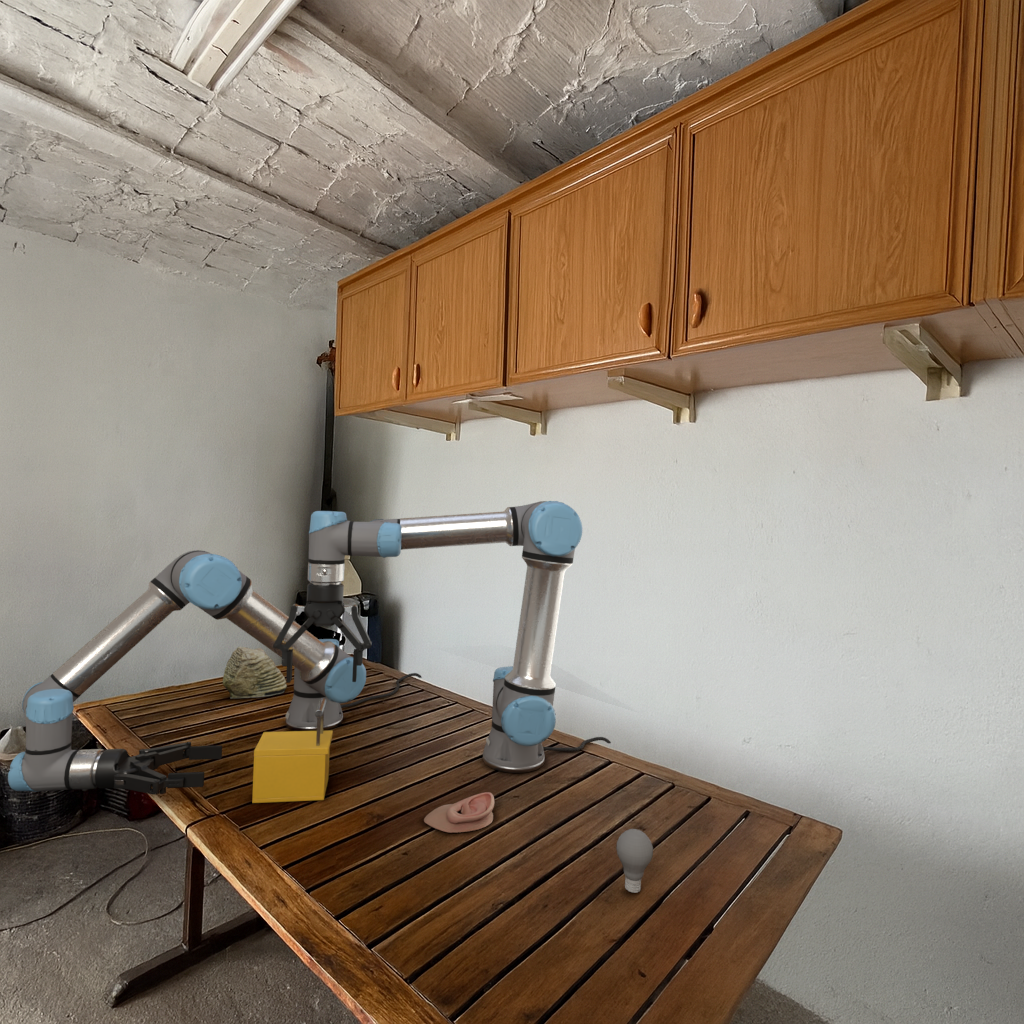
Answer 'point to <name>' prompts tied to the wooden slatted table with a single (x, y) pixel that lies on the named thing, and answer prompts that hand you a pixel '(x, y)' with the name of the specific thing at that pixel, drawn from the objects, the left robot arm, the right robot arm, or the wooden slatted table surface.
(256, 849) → the wooden slatted table surface
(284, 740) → the lid
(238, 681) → the fossil
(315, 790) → the chest
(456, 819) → the anatomical model
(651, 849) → the light bulb
